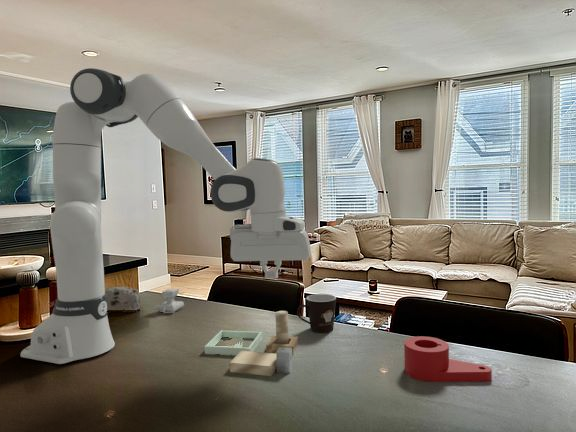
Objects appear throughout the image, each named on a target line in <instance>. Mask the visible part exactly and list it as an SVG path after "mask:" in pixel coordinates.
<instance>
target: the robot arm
mask: <svg viewBox="0 0 576 432" xmlns="http://www.w3.org/2000/svg"><path fill="white" fill-rule="evenodd" d="M69 92H70V95H71V98H72V100H73V101H69V102H65V103H63V104H61V105H59V107H58V109H57V110H56V114H55V116H54V117H55V118H54V125H53V132H52V180H53V182H52V183H53V193H54V211H53V213H52V214H51V218H50V219H49V220H50V221H49V226H50V237H51V245H52V252H53V261H54V266H55V272H56V275H55V276H56V277H55V278H56V288H57V289H56V290H57V298H56V299H55V300H53V301H50V302H48V308H53V309H52V313H51V314H50V315H49V316H47V317H46V318H45V319H44V320H43V321H42V322H41V323H40V324H38V325H37V326H36V327H35V328H34V329H33V330H32V332H31V336H30V345H28V346H27V347H25V348H24V349H22V350H21V352H20V357H21V358H24V359H29V360H30V359H31V360H35V361H41V362H47V363H53V364H56V365H62V364H66V363H70V362H73V361H77V360H78V361H79V360H84V359H89V358H92V357H96V356H99V355H102V354H104V353H106V352H108V351H110V350H112V349H114V347H115V345H116V342H115V341H114V337H113V335H112V331H111V327H110V324H109V318H108V317H109V316H108V312H107V311H108V301H107V293H105V292H106V288H105V286H106V285H105V269H104V268H105V267H104V256H103V255H104V254H103V243H102V242H103V241H102V240H103V239H102V131H103V129H104V128H105V126H106V127H108V128H115V127H117V126H120V125H125V124H128V123H132V122H133V121H135V120H136V119H140V121H142V123H143V124H144V125H145V126H146V128H147V129H148V130H149V131H150V133H152V134H153V135H154V136H155V137H156V139H158V140H159V141H160V142H162V143H163V144H164V145H165V146H167V147H168V148H171V149H172V150H175V151H178V152H181V153H182V154H184V155H186V156H188V157H191V158H192V159H193V160H195V161H196V162H197V163H198V164H199V165H200V166H201V167H202V168H203V169H204V170H205V172H207V173H208V174H209V175H210V177H212V179H213V180H214V181H213V182H212V184H211V186H210V191H209V194H210V198H211V199H210V200H211V201H212V203H213V205H214V206H215V207H216V208H217V209H219V210H220V211H223V212H226V213H236V212H245V211H248V210H249V212H250V214H249V215H250V223H246V224H234V226H232V227H231V228H230V230H229V238H230V241H231V242H230V259H231V260H232V261H233V262H259V265H260V267H261V269H262V270H263V272H264V274H265V276H264V278H265V279H278V278H279V269H280V268H281V266H282V261H284V262H285V261H307V260H309V259H310V257H311V256H312V251H311V243H310V238H309V234H308V232H307V231H306V230H305V229H304V228H305V221H304V220H303V219H300V218H297V217H293V216H290V215H287V210H286V206H285V202H284V199H285V193H286V190H285V180H284V173H283V168H282V166H281V164H280V163H279V162H277V161H276V160H273V159H268V158H257V157H255V158H251V159H250V160H249V161H248V162H247V163H245V164H244V165H242V166H241V167H239V168H236V167H235V166H234V165H233V164H232V163H231V162H230V161H229V160H228V158H227V157H226V156H225V155H224V154H223V153H222V152H221V151H220V150H219V148H218V147H216V145H215V144H214V143H213V142H212V140H211V139H210V137H209V135H208V134H207V133H206V131H205V130H204V129H203V127H202V126H201V125H200V123H199V121H198V120H197V118H196V116H195V115H194V113H193V112H192V111H191V110H190V108H189V107H188V105H187V104H186V103H185V102H184V101H183V99H182V98H181V97H180V96H179V95H178V94H177V93H176V92H175V91H174V90H173V88H171V87H170V86H169V85H168V84H167V83H166V82H164V81H163V80H162V78H160V77H159V76H157V75H155V74H153V73H149V72H147V73H142V74H139V75H137V76H136V77H134V78H133V79H132V80H130V81H127V80H126V81H125V80H124V79H123V78H122V76H120V75H119V74H118V75H117V74H114V73H112V72H108V71H106V70H103V69H99V68H84V69H81V70H79V71H78V72H77V73H75V74H74V76H73V78H72V79H71V82H70V87H69ZM268 261H269V262H271V261H272V262H273V261H274V265H275V268H274V269H269V268H268V266H267V265H268V263H269V262H268Z"/></svg>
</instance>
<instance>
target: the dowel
mask: <svg viewBox="0 0 576 432" xmlns="http://www.w3.org/2000/svg"><path fill="white" fill-rule="evenodd" d="M274 315H275V336H276V344H289V336H290V335H289V312H288V311H287V310H279V311H276V312H275V314H274Z"/></svg>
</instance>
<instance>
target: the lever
mask: <svg viewBox="0 0 576 432" xmlns="http://www.w3.org/2000/svg"><path fill="white" fill-rule="evenodd" d="M403 343H404V344H403V345H404V349H403V350H404V351H403V353H404V354H403V355H404V360H403V361H404V372H405V374H406V375H408V376H409V377H410V378H412V379H415V380H418V381H421V382H430V383H431V382H432V383H438V382H439V383H448V382H449V383H450V382H451V383H455V382H456V383H459V382H460V383H461V382H463V383H465V382H466V383H467V382H469V383H470V382H471V383H478V382H479V383H480V382H491V381H492V377H493V376H492V374H493V373H492V371H493V370H492V368H491V367H490V366H488V365H484V364H479V363H473V362H469V361H462V360H458V359H451V358H450V354H449V353H450V349H449V347H450V345H449V343H448V342H447V341H444V340H443V339H440V338H438V337H432V336H424V335H423V336H422V335H421V336H419V335H417V336H412V337H408V338H406V339H405V340H404V342H403Z"/></svg>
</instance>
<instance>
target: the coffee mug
mask: <svg viewBox="0 0 576 432" xmlns="http://www.w3.org/2000/svg"><path fill="white" fill-rule="evenodd" d="M336 303H337V296H335V295H333V294H327V293H316V294H315V293H314V294H310V295H308V296H306V304H301V305H299V306H298V307H297V310H296V315H297V317H298V319H300V320H301V321H303V322H304V323H306V324H309V325H310V327H309V328H310V331H311V332H313V333H317V334H327V333H331V332H333V331H334V327H335V326H334V324H335V316H336V315H335V313H336ZM303 308H306V309H307V312H308V319H309V321H308V320H307V319H305V318H303V317H302V316H301V315H300V310H301V309H303Z"/></svg>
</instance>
